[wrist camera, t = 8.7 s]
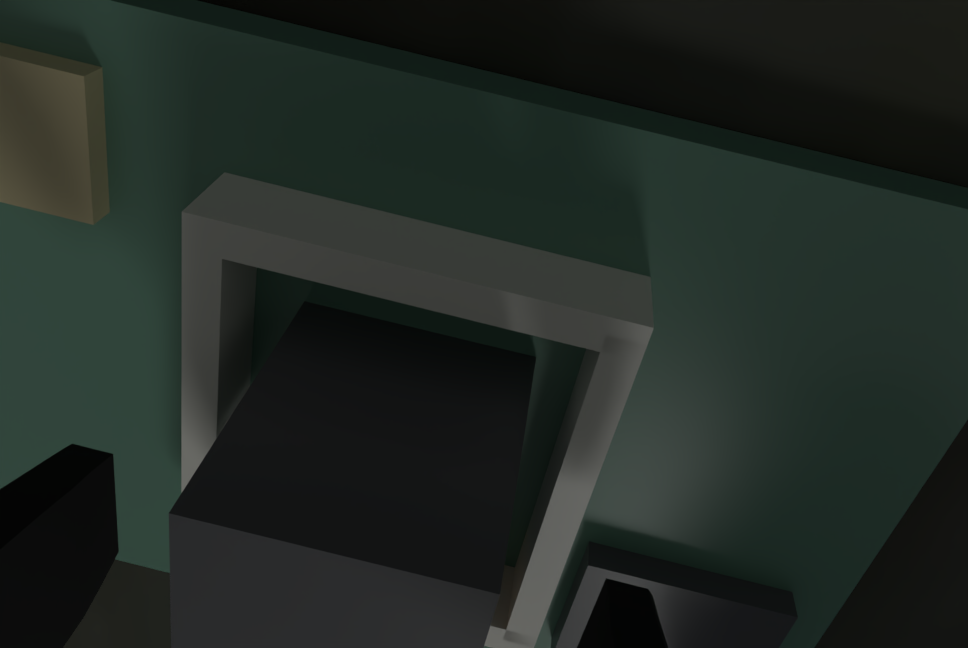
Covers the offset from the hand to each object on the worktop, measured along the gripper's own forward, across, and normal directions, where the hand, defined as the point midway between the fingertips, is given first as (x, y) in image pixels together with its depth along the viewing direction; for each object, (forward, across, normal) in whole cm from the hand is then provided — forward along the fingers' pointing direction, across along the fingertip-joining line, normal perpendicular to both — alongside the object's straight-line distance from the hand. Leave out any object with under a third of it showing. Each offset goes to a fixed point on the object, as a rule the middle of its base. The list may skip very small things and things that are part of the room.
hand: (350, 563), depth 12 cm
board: (+4, 0, 0) cm, 5 cm away
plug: (+3, 0, 0) cm, 4 cm away
